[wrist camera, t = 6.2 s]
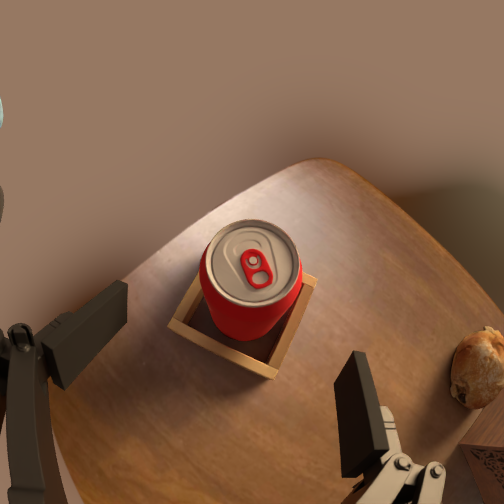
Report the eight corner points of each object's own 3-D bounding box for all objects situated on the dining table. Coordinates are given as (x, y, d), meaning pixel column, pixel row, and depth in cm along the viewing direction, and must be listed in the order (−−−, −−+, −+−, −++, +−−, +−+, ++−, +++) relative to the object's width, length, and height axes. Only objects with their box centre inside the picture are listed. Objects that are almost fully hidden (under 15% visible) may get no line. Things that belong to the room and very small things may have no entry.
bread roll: (426, 367, 27) (449, 385, 20) (476, 309, 26) (508, 312, 19) (458, 409, 25) (481, 431, 17) (504, 355, 24) (534, 365, 16)
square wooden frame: (172, 331, 24) (166, 326, 22) (221, 245, 28) (220, 233, 26) (269, 379, 23) (273, 380, 21) (310, 287, 27) (317, 278, 25)
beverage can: (262, 270, 28) (282, 199, 17) (286, 328, 25) (328, 291, 14) (202, 290, 26) (183, 228, 15) (223, 351, 24) (217, 333, 13)
